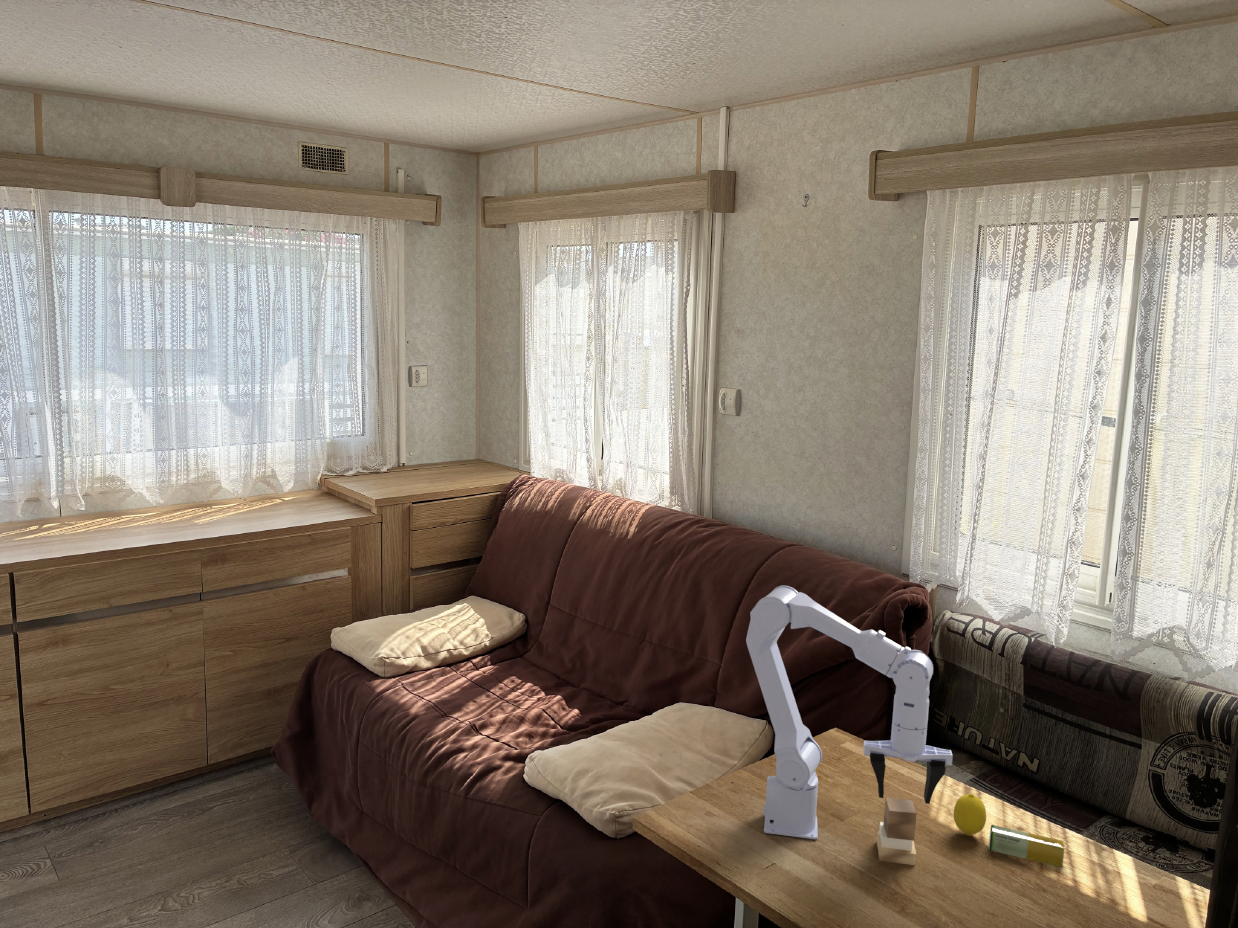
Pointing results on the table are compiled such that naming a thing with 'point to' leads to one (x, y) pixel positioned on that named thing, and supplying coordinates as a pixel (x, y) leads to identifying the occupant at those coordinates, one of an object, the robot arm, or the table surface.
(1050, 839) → the medication box
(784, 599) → the robot arm
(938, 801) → the table surface
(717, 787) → the table surface
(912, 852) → the oak base block
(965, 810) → the lemon
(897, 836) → the walnut block
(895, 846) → the cream block
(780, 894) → the table surface
